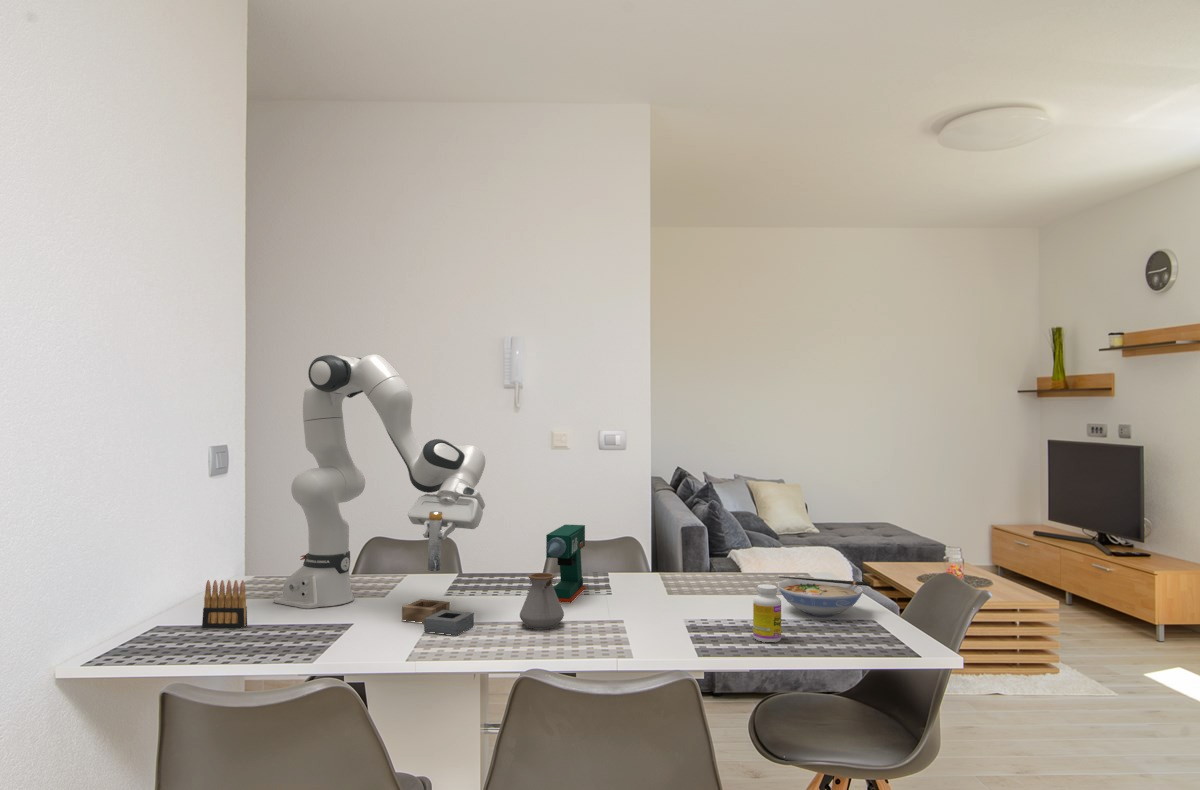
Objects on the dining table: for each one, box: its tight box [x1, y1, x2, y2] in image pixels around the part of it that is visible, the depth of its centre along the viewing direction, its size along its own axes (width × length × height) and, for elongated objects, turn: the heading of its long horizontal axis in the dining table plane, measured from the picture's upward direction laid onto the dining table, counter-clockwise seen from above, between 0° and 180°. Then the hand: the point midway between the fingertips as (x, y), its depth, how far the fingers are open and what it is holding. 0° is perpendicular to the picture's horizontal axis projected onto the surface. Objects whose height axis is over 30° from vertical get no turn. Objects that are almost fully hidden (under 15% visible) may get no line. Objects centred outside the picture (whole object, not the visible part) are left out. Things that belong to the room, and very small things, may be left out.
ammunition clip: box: [201, 579, 248, 629], centre depth 192 cm, size 11×2×12 cm, turn 90°
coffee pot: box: [519, 572, 565, 630], centre depth 190 cm, size 21×12×15 cm, turn 11°
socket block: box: [423, 609, 475, 636], centre depth 190 cm, size 9×9×4 cm
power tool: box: [545, 524, 586, 604], centre depth 221 cm, size 32×7×20 cm, turn 168°
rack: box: [401, 598, 451, 623], centre depth 200 cm, size 9×9×4 cm
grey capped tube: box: [427, 511, 443, 572], centre depth 196 cm, size 3×3×15 cm
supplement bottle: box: [752, 583, 782, 643], centre depth 183 cm, size 7×7×13 cm
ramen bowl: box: [777, 576, 871, 617], centre depth 208 cm, size 25×23×8 cm
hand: (433, 537), depth 196 cm, fingers closed on grey capped tube, 3 cm apart
